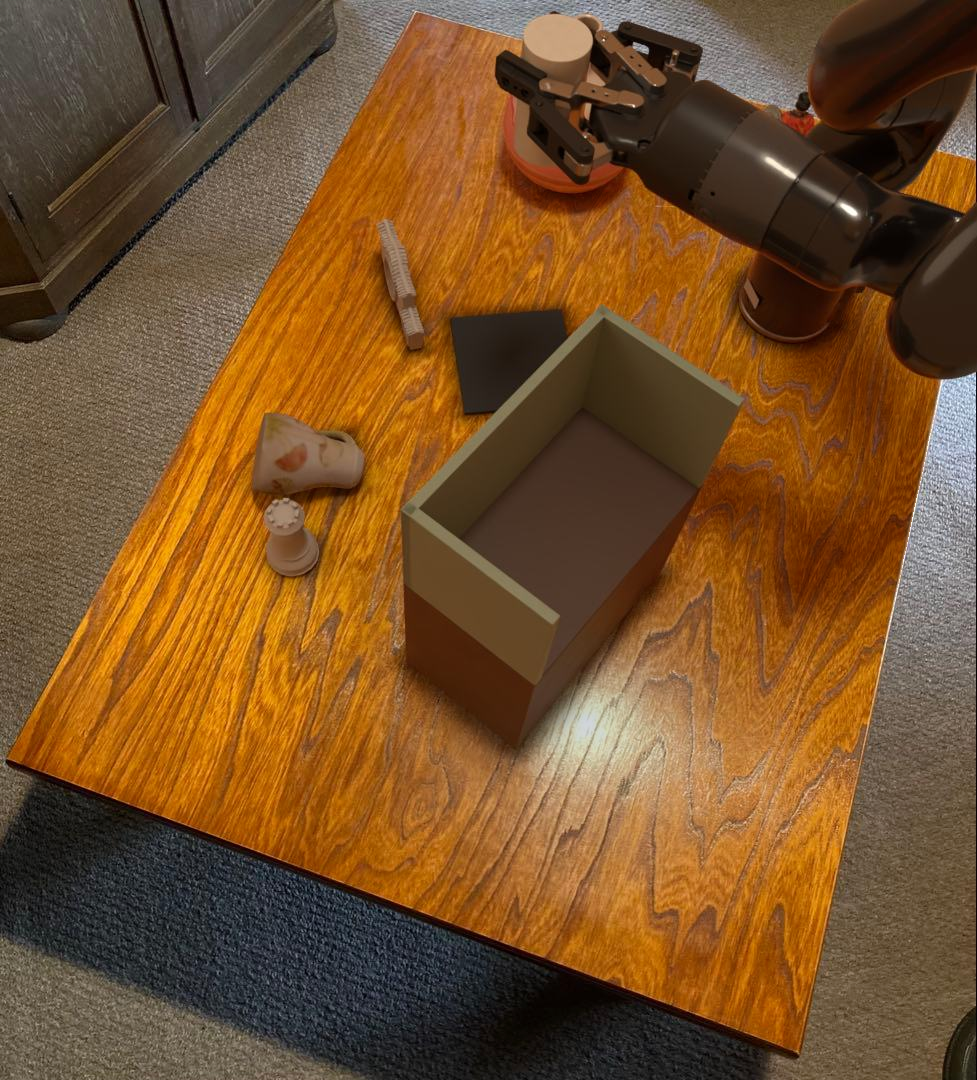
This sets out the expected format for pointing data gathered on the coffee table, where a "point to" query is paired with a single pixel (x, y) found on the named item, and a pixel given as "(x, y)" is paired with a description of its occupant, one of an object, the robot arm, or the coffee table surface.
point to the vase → (554, 175)
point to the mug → (303, 457)
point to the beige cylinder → (551, 69)
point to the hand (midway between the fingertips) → (523, 45)
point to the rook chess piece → (289, 539)
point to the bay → (556, 519)
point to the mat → (502, 353)
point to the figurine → (795, 114)
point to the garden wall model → (400, 283)
